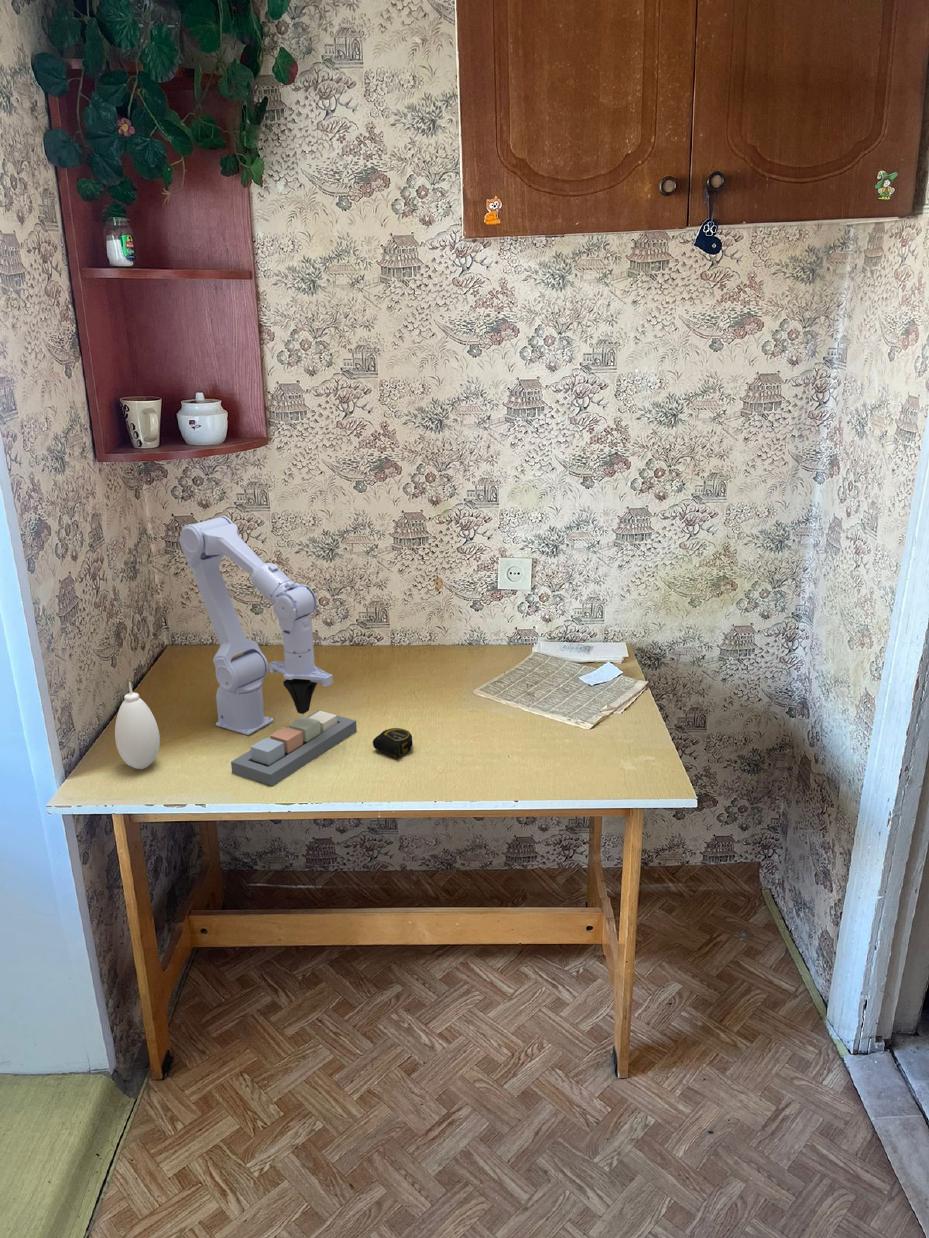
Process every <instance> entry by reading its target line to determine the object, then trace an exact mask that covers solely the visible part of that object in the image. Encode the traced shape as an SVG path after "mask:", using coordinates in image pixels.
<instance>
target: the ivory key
mask: <svg viewBox="0 0 929 1238" xmlns="http://www.w3.org/2000/svg"><path fill="white" fill-rule="evenodd" d="M309 718H311V719H315V720H318V721H320V732H321V734H322V733H324V732H325V731H327V730H329V729H330V728H332V727H333V726H335V725H337V715H336V714H335V713H331V714H330V712H326V711H322V710H320V711H319V712H317V713H315V714H314V715H312V716H310V717H309ZM319 735H320V734H319Z"/></svg>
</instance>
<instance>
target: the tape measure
mask: <svg viewBox="0 0 929 1238" xmlns="http://www.w3.org/2000/svg"><path fill="white" fill-rule="evenodd" d="M413 745H414V744H413V735H412V734H411V732H410V731H409V730H407V729H406V728H405V729H404V728H402V727H401V728H400V727H393V728H388V729H385V730H383V731H382V732H381V733H380V734H378V735H377V736H376V737H375V738H374V739H373V740H372V747H373V748H374V749H375V750H377V751H379V752H382V753H385V754H387V755H390V756H392V757H394V758H398V759H399V758H400V757H402V756H403V755H405V754H407V753H409V752H410V751H411V749H412V747H413Z"/></svg>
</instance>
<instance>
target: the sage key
mask: <svg viewBox="0 0 929 1238" xmlns="http://www.w3.org/2000/svg"><path fill="white" fill-rule="evenodd" d="M287 727H288V728H292V729H295V730H299V731H302V736H303V741H304V742H308V741H309V740H311V739H313V738H314V737H316V736H317V735H319V734H321V732H320V721H318V720H315V719H311V718H308V716H305V715H303V716H300V717H298V718H297V719H295V720H294V721H292V722H290V723H289V724H288V725H287Z"/></svg>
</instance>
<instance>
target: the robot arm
mask: <svg viewBox="0 0 929 1238" xmlns="http://www.w3.org/2000/svg"><path fill="white" fill-rule="evenodd" d="M238 527H239V526H238V525H236V524H235V523H234V522H233V521H232V520H231V519H230V518H229V517H228V516H225V515H220V516H217V517H215V518H212V519H208V520H204V521H200V522H197V523H193V524H191V523H190V524H186V525H184V526H183V528H182V529H181V533H180V536H179V539H178V542H179V544H180V546H181V549H182V552H183V555H184V557H185V561H186V562H187V565H188V567H189V568H190V570H191V573H192V575H193V577H194V580H195V583H196V586H197V589H198V591H199V594H200V596H201V599H202V601H203V604H204V607H205V610H206V612H207V615H208V617H209V621H210V623H211V626H212V628H213V630H214V631H213V632H214V633H215V636H216V638H217V642H218V644H219V648H218V650H217V652H216V653H215V654H214V656H213V659H212V661H213V664H214V667H215V677H216V681H217V683H218V684H219V686H218V688H217V690H216V695H215V702H216V710H217V721H216V723H215V726H217V727H220V728H223V729H226V730H229V731H233V732H236V733H239V734H243V735H247V736H249V735H252V734H254V733H255V732H258V730H260V729H262V728H264V727H266V726H268V725H269V724H271V723H273V722H274V718H272V717H269V716H266V715H265V709H264V699H263V698H264V694H263V686H262V684H263V683H265V679H264V678H265V677H266V676H267V675H268V673H271V674H275V673H277V674H280V675H281V674H282V675H283V679H285V680H284V681H282V682H283V687H285V688H286V690H287V691H288V693H289V695H290V697H291V699H292V701H293V704H294V706H295V708H296V711H297V714H301V715H305V714H306V713H307V712H309V711H310V706H311V701H312V698H313V695H314V691H315V689H316V687H317V685H318V684H320V685H322V687H325V688H327V687H330V686H331V685H333V684H334V680H333V677H334V676H333V674H331V673H328V672H326V671H325V670H323V669H321V668H319V667H318V666H316V664H315V651H314V637H313V623H312V613H314V612H315V611H316V609H317V606H318V601H317V597H316V594H315V593H314V591H313V589H311V588H310V586H309V585H307V584H300V583H298V582H294V581H293V580H292V579H291V578H289V576H287V574H285V573H284V572H283V571H282V569H280V568H279V566H278V565H276V564H275V563H272V562H266V563H264V561H262V559H261V558H260V557H259V556H258V555H257V554H256V553H255V552H254V550H252V548H251V547H249V545H248V544H247V543H246V542H245V541H244V540H243V539H242V538H241V537H240V531H239V528H238ZM224 557H227V558H228V559H229V560H231V561H232V562H233V563H235V564H236V565H237V566H238V567H239V568H241V569H242V570H243V571H245V572H246V573H247V574H249V575H250V576H251V585H252V586H253V587H255V589H257V590H258V591H259V593H261V594H262V595H263V596H264V597H265V598H266V599H267V600H268V601H269V602H271V603H272V608H273V612H274V614H275V616H276V618H277V620H278V626H279V627H280V629H281V634H282V644H283V645H282V646H283V657H284V658H283V659H284V661H282V660H281V661H280V660H273V661H271V662H269V661H268V659H267V658H266V656H265V655H264V653H263V652H262V650H261V649H260V646H259V644H258V642H257V641H255V640H251V639H249V638H247V637H246V636H245V633H244V630H243V628H242V625H241V622H240V620H239V617H238V615H237V611H236V608H235V606H234V604H233V600H232V597H231V596H230V592H229V590H228V587H227V586H226V582H225V580H224V577H223V575H222V571H221V569H220V564H221V562H222V559H223V558H224ZM239 654H240V655H239ZM237 655H238V656H237Z"/></svg>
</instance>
